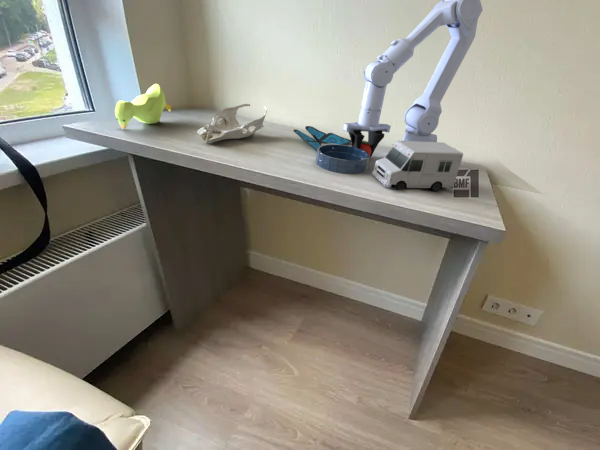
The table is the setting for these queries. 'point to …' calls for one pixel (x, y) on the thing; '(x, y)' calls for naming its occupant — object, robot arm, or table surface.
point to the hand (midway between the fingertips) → (361, 155)
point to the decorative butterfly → (321, 137)
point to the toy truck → (419, 165)
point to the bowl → (342, 158)
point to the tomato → (366, 147)
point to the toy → (142, 107)
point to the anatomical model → (229, 126)
